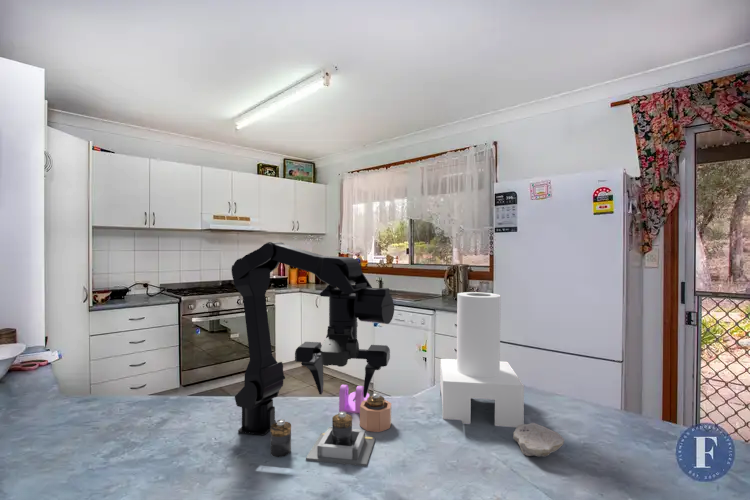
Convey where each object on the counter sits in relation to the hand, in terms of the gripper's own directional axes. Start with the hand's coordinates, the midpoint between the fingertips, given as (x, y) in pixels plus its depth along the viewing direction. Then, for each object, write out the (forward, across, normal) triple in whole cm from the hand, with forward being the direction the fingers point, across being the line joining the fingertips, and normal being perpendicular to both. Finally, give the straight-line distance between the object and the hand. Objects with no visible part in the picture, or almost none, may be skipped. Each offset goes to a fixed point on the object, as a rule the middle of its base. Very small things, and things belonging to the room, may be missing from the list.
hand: (342, 395), depth 78 cm
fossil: (+12, +40, +8) cm, 42 cm away
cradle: (+12, 0, 0) cm, 12 cm away
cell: (+11, 0, 0) cm, 11 cm away
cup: (+12, +5, +12) cm, 18 cm away
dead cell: (+11, +5, +12) cm, 17 cm away
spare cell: (+12, -12, -3) cm, 17 cm away
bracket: (+12, -2, +24) cm, 27 cm away
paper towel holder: (+12, +30, +27) cm, 42 cm away
